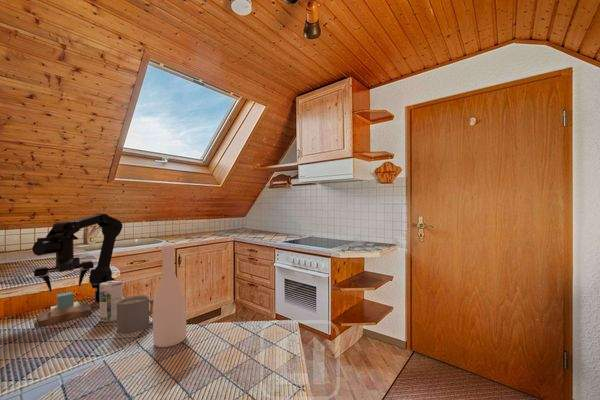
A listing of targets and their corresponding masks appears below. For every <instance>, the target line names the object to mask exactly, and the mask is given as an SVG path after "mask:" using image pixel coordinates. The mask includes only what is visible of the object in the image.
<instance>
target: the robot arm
mask: <svg viewBox="0 0 600 400" xmlns="http://www.w3.org/2000/svg"><path fill="white" fill-rule="evenodd" d="M96 224H97V225H98V227H100V228H101V233H102V236H103V241H102V243H101V248H100V253H99V258H98V263H97V266H96V267H95V266H94V262H93V261H92V260H85V261H81V259H80V257H79V256H77V257H74V255H75V254H74V252H75V251H74V240H75V241H76V240H79V237H77V236H76V235H75V234H76V233H79V231H80V230H81V229H84V228H88V227H90V226H93V225H96ZM122 229H123V223H122V221H120V219H117V218H115V217H113V216H110V215H108V214H106V213H95V214H93V215H90V216H86V217H83V218H79V219H76V220H68V221H57V222H54V223H53V225H52V227H51V229H50V230H49V232H48V233H47V234H46V235H45V237H37V238H36V242H34V244H33V246H32V252H33V254H34V255H35V256H46V255H52V254H55V266H53V267H48V266H41V267H40V266H39V267H35V268H34V269H33V271H34V272H33V277H34V278H35V277H36V278H37V277H38V279H43V281H44V282H45V284H46V285H47V289H48V290H49V292H52V284H51V280H50V274H49V273H54V272H55V273H56V272H58V273H63V272H67V271H71V272H72V271H73V270H75V269H79V275H78V276H79V277H78V287H81V284H82V282H83V279H84V277H85V276H86V273H87V272H89V271H90V274H89V276H88V279H89V280H88V281H89V284H90V285H91V288H92V289H95V291H94V301H95V302H96V303H100V284H101V283H104V282H107V281H117V280H116V279H115V278H114V277H112V276H113V272H112V268H111V265H110V264H111V262H112V261H111V260H112V256H113V252H114V248H115V245H116V244H115V242H116V239H117V237H118V236H119V235H120V234H121V233H122ZM94 267H95V268H94Z"/></svg>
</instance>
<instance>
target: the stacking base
mask: <svg viewBox="0 0 600 400" xmlns="http://www.w3.org/2000/svg"><path fill="white" fill-rule="evenodd" d="M92 314H93V313H92V307H91V305H90V304H89V302H86V303H81V304H80V301H74V306H72V307H67V308H62V309H57V305H52V306H50V310H47V311H43V312H39V313H38V323H37V324H38V328H39V327H44V326H49V325H52V324H56V323H61V322H64V321H65V320H66V321H70V320H74V319H78V318H82V317H86V316H91V315H92Z"/></svg>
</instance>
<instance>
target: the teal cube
mask: <svg viewBox="0 0 600 400" xmlns="http://www.w3.org/2000/svg"><path fill="white" fill-rule="evenodd" d="M74 300H75V299H74V292H73V291H69V292H64V293H57V294H56V306H57V309H62V308H67V307H72V306H74V302H75V301H74Z"/></svg>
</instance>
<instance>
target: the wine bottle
mask: <svg viewBox="0 0 600 400" xmlns="http://www.w3.org/2000/svg"><path fill="white" fill-rule="evenodd" d="M174 253H175V247H174V245H172V244H171V245H170V244H169V245H163V246H162V248H161V254H162V272H161V277H160V280H159V284H158V286H157V290H156V293H155V295H154V298H153V299H154V302H153V307H152V308H153V313H152V338H153V340H152V341H153V345H154V346H156V347H158V348H169V347H173V346H176V345H179V344H181V343H182V342H184V340H185V339H186V337H187V333H188V331H187V300H186V297H185V295H184V293H183V289H182V286H181V284H180V283H179V280H178V278H177V275H176V271H175V258H174V257H175V256H174Z"/></svg>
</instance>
